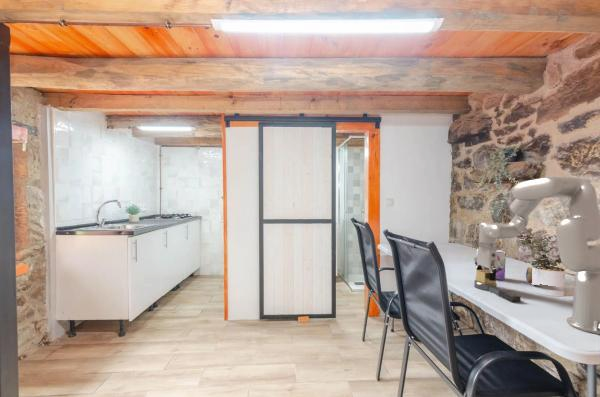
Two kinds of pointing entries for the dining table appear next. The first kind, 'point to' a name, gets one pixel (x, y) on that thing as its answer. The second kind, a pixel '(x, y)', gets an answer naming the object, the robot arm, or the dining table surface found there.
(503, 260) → the candy box
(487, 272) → the tan cube
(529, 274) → the tin
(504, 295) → the ratchet
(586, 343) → the dining table surface
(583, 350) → the dining table surface
